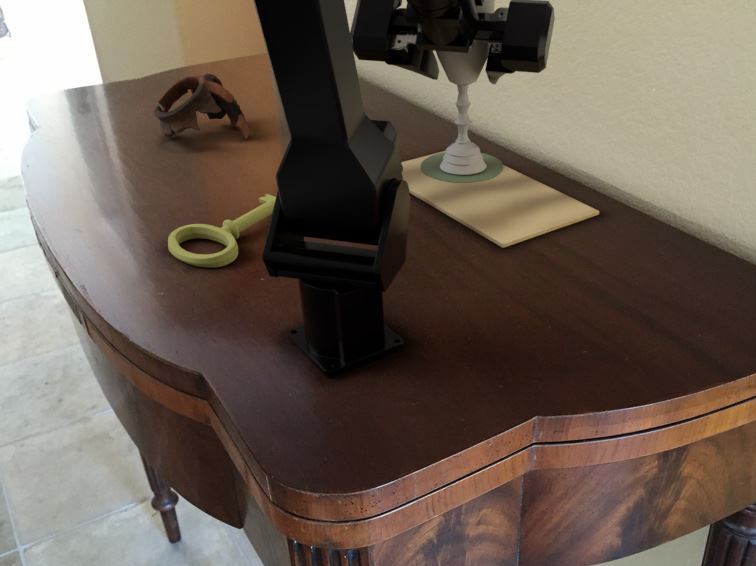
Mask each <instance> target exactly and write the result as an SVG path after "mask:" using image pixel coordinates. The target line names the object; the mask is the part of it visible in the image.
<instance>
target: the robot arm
mask: <svg viewBox="0 0 756 566" xmlns="http://www.w3.org/2000/svg"><path fill="white" fill-rule="evenodd" d="M252 1H253V4H254V8H255V12H256V15H257V19H258V23H259V26H260V30H261V34H262V38H263V41H264V46H265V49H266V53H267V56H268V60H269V63H270V68H271V71H272V75H273V79H274V82H275V87H276V89H277V94H278V97H279V101H280V105H281V108H282V112H283V117H284V118H285V123H286V127H287V130H288V135H289V142H288V144H287V147H286V149H285V152H284V153H283V156H282V158H281V161H280V164H279V166H278V168H277V171H276V173H275V181H276V187H277V190H276V191H277V192H276V196H275V197H276V200H275V204H274V208H273V212H272V214H271V215H270V221H269V226H268V229H267V234H266V238H265V242H264V245H263V251H262V255H261V257H262V261H263V264H264V266H265V268H266V271H267V274H268V276H269V277H271V278H278V277H280V278H281V277H282V278H288V279H293V280H294V279H295V280H297V281H298V289H299V296H300V304H301V313H302V321H303V324H300V325H298V326H296V327H293V328H290V329H288V331H287V332H286V334H287V338H288V340H289V341H290V342H291V343H292V344H293V345H294V346H295V347H296V348H297V349H298V350H299V351H300V352H301V353H302V354H303V355H304V356H305V357H306V358H307V359H308V360H309V361H310V362H311V363H312V364H313V365H314V366H315V367H316V368H317V370H319V371H320V372H321V373H322V374H323V375H325V376H327V377H333V376H336V375H338V374H341V373H343V372H346V371H348V370H351V369H353V368H356V367H359V366H361V365H364V364H366V363H369V362H371V361H374V360H376V359H380V358H381V357H384V356H386V355H389V354H391V353H393V352H394V353H395V352H397V351H399V350H402V349H403V348H404V346H405V345H404V344H405V343H404V339H403V337H401V336H400V335H399V334H397V333H396V332H395V331H393V330H392V329H391V328H390V327H389V326H387V324H385V315H384V295H383V293H386V292H387V291H388V289H389V288H390V286H391V284H392V283H393V281H394V280H395V278H396V277H397V275H398V273H399V272H400V271H401V269H402V268H403V266H404V265H405V263H406V259H407V248H408V247H407V244H408V234H409V233H408V231H409V219H410V207H411V206H410V204H411V193H410V192H409V186H408V183H407V182H406V181H405V180H403V177H402V172H403V166H402V164H401V162H402V161H401V157H400V153H399V152H400V150H399V143H398V133H397V131H396V128H395V127H394V125H393V124H392V122H391V121H390V120H380V119H371V118H370V117H369V116H368V115H367V114H366V112H365V107H364V103H363V98H362V91H361V86H360V81H359V76H358V75H359V74H358V70H357V65H356V58H357V59H358V61H367V62H368V61H369V62H383V63H385V64H386V65H387V66H393V67H394V66H395V67H398V68H401V69H404V70H406V71H410V72H413V73H415V74H418V75H420V76H423V77H426V78H429V79H431V80H433V81H437V80H438V79H439V74H440V69H439V64H438V60H437V58H436V55H435V53H434V52H436V51H446V52H461V53H468V51H469V48H472V47H473V46H474V42H475V41H474V40H484V41H489V42H488V44H489V47H490V48H489V53H488V58H487V60H486V63H485V70H484V71H485V74H486V76H487V79H488V82H489V83H490V84H492V85H496V84H497V83H498V81H499V80H500V78H502V77H503V76H504V75H511V74H512V75H513V74H515V73H516V72H521V73H534V74H540V73H541V72H543V71H544V70H545V69H546V68H547V63H548V60H549V59H548V58H549V54H550V47H551V41H552V36H553V32H554V31H553V30H554V27H555V26H554V25H555V20H556V17H555V8H554V7H553V5H552V3H551V2H550V1H549V0H509V3H508V6H507V7H505V6H502V7H498V8H497V9H495V10H494V13H478V11H477V6H483V2H484V0H406V7H401V6H402V4H403V0H357V1H356V4H355V5H356V6H355V10H354V14H353V18H352V23H351V26H350V25H349V19H348V14H347V10H346V9H347V8H346V3H345V0H252ZM305 238H310V239H319V240H328V241H334V242H335V241H336V242H343V243H351V244H360V245H368V246H376V247H377V248H376V249H374V248H373V249H372V248H365V247H355V246H349V245H340V244H333V243H331V244H330V243H323V242H317V241H316V242H315V241H308V240H305Z"/></svg>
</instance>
